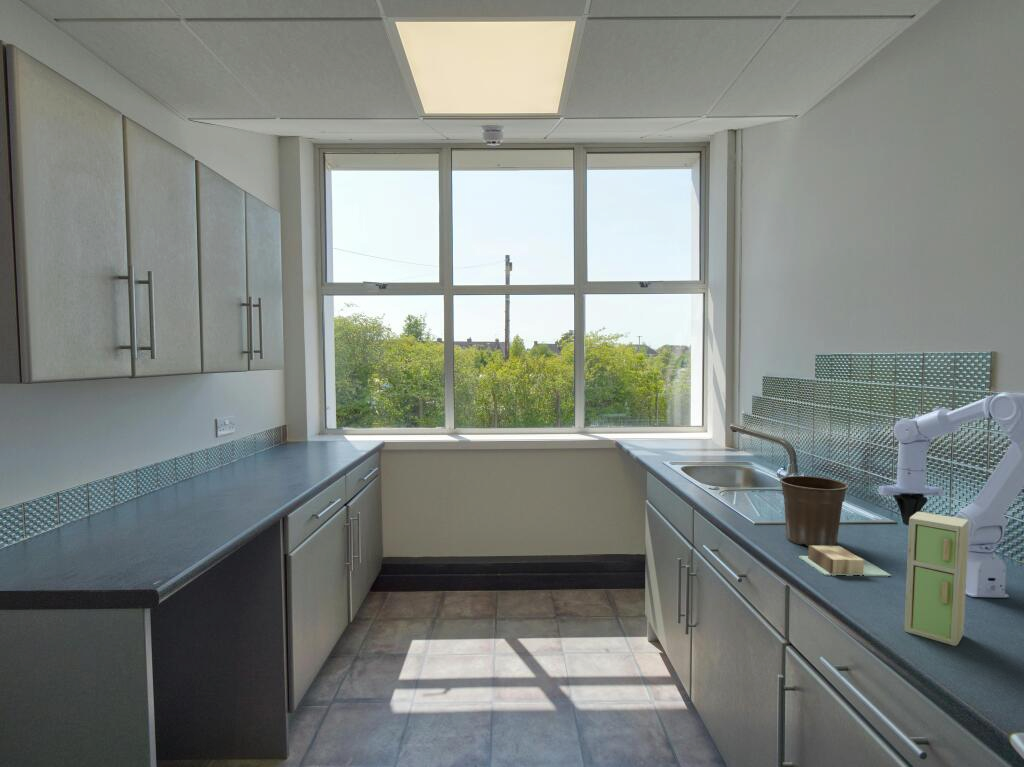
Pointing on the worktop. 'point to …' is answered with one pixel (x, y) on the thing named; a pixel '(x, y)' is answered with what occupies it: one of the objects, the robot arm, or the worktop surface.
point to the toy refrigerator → (936, 577)
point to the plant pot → (812, 509)
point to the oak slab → (836, 559)
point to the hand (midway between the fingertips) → (908, 524)
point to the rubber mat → (867, 571)
